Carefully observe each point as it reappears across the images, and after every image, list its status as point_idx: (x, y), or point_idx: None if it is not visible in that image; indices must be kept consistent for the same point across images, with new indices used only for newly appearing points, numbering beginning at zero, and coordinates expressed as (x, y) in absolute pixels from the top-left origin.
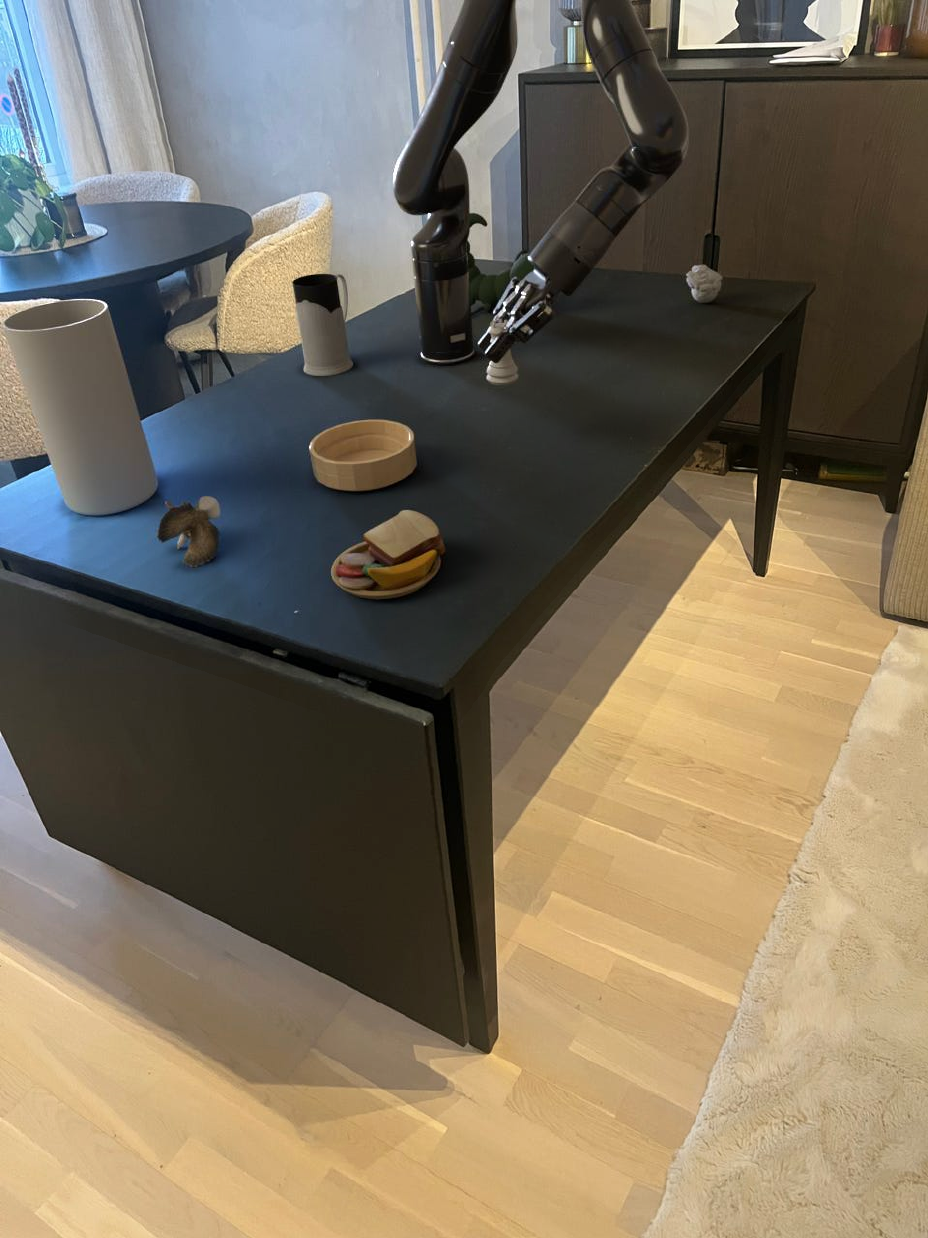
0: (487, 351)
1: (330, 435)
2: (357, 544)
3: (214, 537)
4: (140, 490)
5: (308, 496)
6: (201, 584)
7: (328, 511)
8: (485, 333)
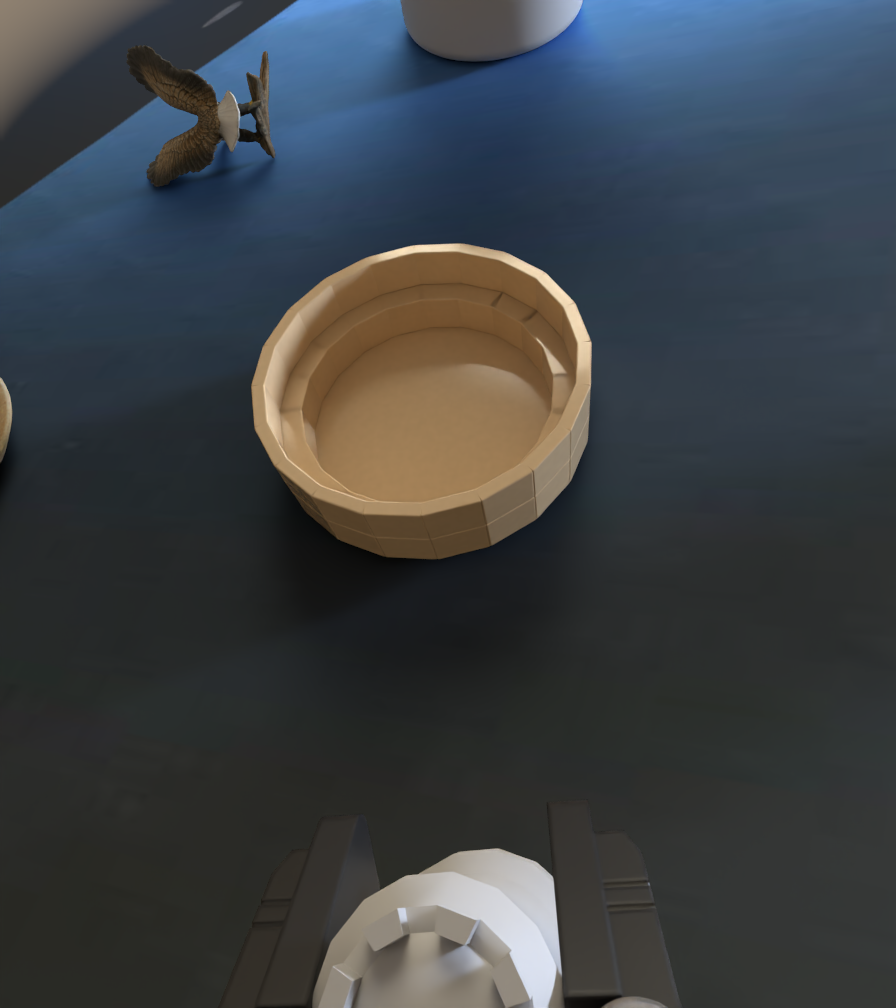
0: (320, 829)
1: (536, 293)
2: (5, 398)
3: (179, 165)
4: (429, 28)
5: None
6: (87, 187)
7: (244, 350)
8: (592, 874)
